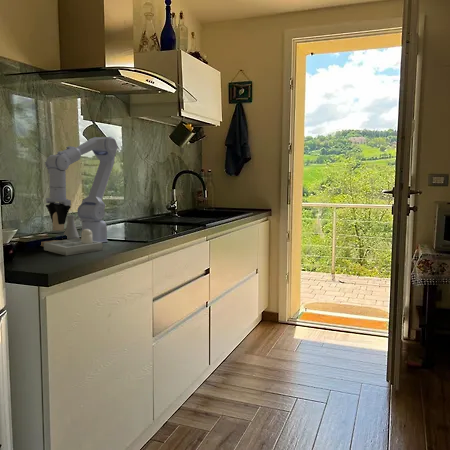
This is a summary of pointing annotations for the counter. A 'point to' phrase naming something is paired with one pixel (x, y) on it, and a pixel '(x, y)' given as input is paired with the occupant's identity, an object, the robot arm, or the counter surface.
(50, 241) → the egg stand
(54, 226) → the egg
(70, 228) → the flask
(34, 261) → the counter surface
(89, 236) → the white square tray shape
